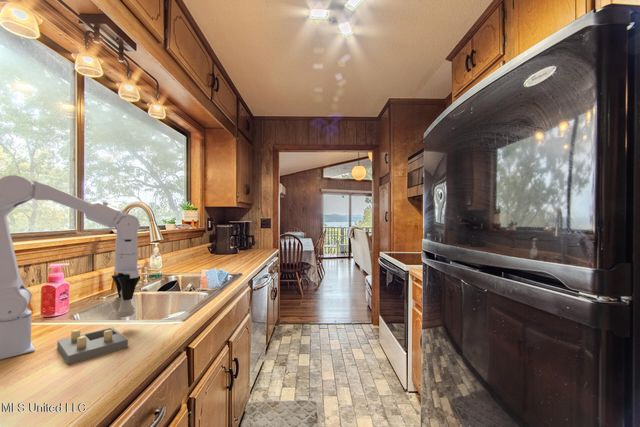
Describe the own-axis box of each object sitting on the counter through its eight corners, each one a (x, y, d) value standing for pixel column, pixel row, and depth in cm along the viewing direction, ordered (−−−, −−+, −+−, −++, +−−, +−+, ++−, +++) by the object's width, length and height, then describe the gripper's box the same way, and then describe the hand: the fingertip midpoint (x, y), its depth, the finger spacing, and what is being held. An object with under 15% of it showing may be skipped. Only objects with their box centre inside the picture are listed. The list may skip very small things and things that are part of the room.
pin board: (57, 348, 75) (57, 330, 75) (112, 334, 84) (112, 318, 84) (68, 364, 67) (68, 345, 67) (127, 347, 76) (128, 329, 76)
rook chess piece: (132, 311, 91) (131, 286, 91) (137, 314, 89) (136, 288, 88) (115, 315, 88) (114, 289, 88) (120, 318, 85) (119, 291, 85)
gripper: (150, 254, 87) (149, 300, 87) (132, 250, 96) (131, 291, 96) (122, 257, 81) (121, 305, 81) (107, 252, 91) (106, 296, 90)
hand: (125, 298), depth 88 cm, fingers closed on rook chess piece, 3 cm apart
